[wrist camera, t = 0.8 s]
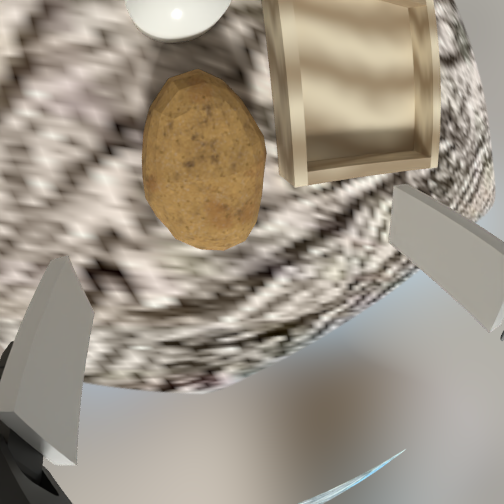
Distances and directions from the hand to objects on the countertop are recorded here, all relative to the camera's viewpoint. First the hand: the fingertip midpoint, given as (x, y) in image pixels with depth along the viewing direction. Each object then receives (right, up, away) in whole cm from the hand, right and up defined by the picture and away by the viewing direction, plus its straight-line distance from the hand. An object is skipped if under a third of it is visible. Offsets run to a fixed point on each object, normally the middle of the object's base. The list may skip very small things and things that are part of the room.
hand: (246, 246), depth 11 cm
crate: (+10, +17, +14) cm, 25 cm away
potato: (-5, +9, +15) cm, 18 cm away
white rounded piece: (-6, +21, +8) cm, 23 cm away
